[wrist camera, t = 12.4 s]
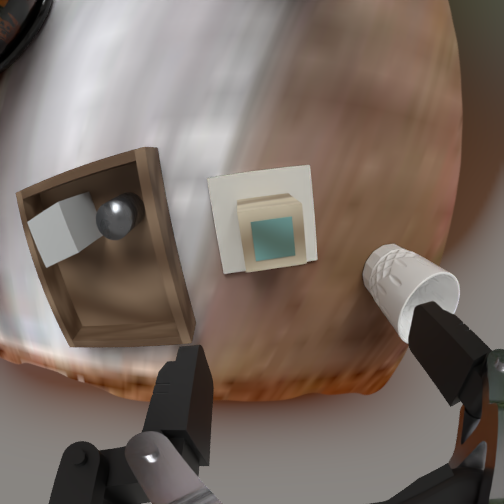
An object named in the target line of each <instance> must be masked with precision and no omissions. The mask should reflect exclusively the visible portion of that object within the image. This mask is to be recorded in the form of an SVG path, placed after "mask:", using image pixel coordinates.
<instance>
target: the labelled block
mask: <svg viewBox="0 0 504 504" xmlns="http://www.w3.org/2000/svg"><path fill="white" fill-rule="evenodd" d="M237 215H238V222H239V228H240V235H241V241H242V248H243V254H244V261H245V267H246V273H247V272H254V271H261V270H268V269H274V268H281V267H288V266H294V265H301V264H307V259H306V245H305V232H304V220H303V209H302V203H301V202H299V201H298V200H297V199H295V198H294V197H293V196H291V195H290V194H289V193H285V194H277V195H269V196H262V197H254V198H247V199H240V200H237Z"/></svg>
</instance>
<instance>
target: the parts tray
mask: <svg viewBox="0 0 504 504" xmlns="http://www.w3.org/2000/svg"><path fill="white" fill-rule="evenodd" d="M86 192H89V193H90V196H91V198H92V201H93V204H94V206H95V209H96V212H97V211H98V209H99V207H100V206H101V205H103V204H104V203H106V202H108V201H110V200H112V199H113V198H115V197H117V196H119V195H121V194H123V193H126V192H130V193H134V194H136V195H137V196H139V197H140V198H141V200H142V201H143V204H144V207H145V214H144V218H143V220H142V221H141V222H140V223H139V224H138V225H137V226H136V227H135V228H133V229H132V230H131V231H130V232H129V233H128V234H127V235H126V236H125V237H123V238H122V239H120V240H110V239H107V238H106V237H104V236H101V237H100V238H98V239H97V240H96V241H94V242H93V243H91V244H90V245H88V246H87V247H86V248H84V249H83V250H81V251H80V252H79V253H77V254H74V255H72V256H70V257H68V258H66V259H64V260H62V261H60V262H57V263H55V264H53V265H51V266H49V267H47V268H46V266H45V264H44V262H43V260H42V258H41V255H40V253H39V251H38V248H37V246H36V244H35V241H34V239H33V236H32V234H31V231H30V228H29V226H28V223H27V222H28V221H30V220H31V219H32V218H34V217H35V216H37V215H38V214H40V213H41V212H43V211H44V210H46V209H48V208H49V207H51V206H52V205H54V204H55V203H57V202H59V201H62V200H65V199H68V198H71V197H74V196H77V195H80V194H83V193H86ZM16 197H17V202H18V207H19V212H20V216H21V220H22V224H23V228H24V232H25V236H26V239H27V243H28V246H29V250H30V253H31V256H32V259H33V262H34V265H35V268H36V271H37V274H38V277H39V279H40V282H41V285H42V287H43V290H44V292H45V295H46V297H47V300H48V302H49V304H50V307H51V309H52V311H53V314H54V316H55V318H56V320H57V322H58V324H59V327H60V329H61V331H62V333H63V335H64V337H65V339H66V341H67V343H68V344H69V346H70V347H140V346H160V345H175V344H188V343H192V339H193V334H194V330H195V325H196V321H195V317H194V314H193V310H192V306H191V303H190V299H189V295H188V292H187V288H186V284H185V280H184V276H183V272H182V268H181V264H180V260H179V255H178V251H177V247H176V242H175V238H174V233H173V229H172V224H171V219H170V215H169V210H168V205H167V199H166V194H165V189H164V183H163V178H162V172H161V166H160V160H159V154H158V148H154V147H142V148H138V149H135V150H131V151H128V152H124V153H121V154H117V155H114V156H111V157H107V158H104V159H101V160H98V161H95V162H92V163H89V164H86V165H83V166H80V167H77V168H75V169H72V170H69V171H66V172H64V173H61V174H59V175H56V176H54V177H51V178H49V179H46V180H44V181H41V182H39V183H37V184H34V185H32V186H30V187H28V188H25V189H23V190H21V191H19V192H17V193H16Z"/></svg>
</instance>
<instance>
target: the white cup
mask: <svg viewBox="0 0 504 504" xmlns="http://www.w3.org/2000/svg"><path fill="white" fill-rule="evenodd" d="M363 280H364V285H365V287H366V288H367V289H368V291H369V292H370V293H371V295H372V296H373V298H374V301H375V302H376V303H377V305H378V306H379V308H380V309H381V311H382V312H383V314H384V315H385V316H386V318H387V319H388V321H389V322H390V323H391V325H392V326H393V328H394V329H395V331H396V332H397V333H398V335H399V336H400V338H401V339H402V340H403V341H404V342H405V343H408V336H409V332H410V327H411V322H412V317H413V312H414V308H415V307H416V306H417V305H420V304H423V303H427V302H430V301H434V302H436V303H437V304H438V305H439V306H440V307H441V308H442V309H443V310H446V311H448V312H450V313H452V314H454V313H455V311H456V308H457V306H458V302H459V297H460V287H459V283H458V280H457V279H456V277H455V276H454V275H453V274H451V273H449V272H447V271H446V270H444V269H442V268H440V267H439V266H437V265H436V264H434V263H432V262H430V261H429V260H427V259H425V258H423V257H422V256H420V255H418V254H415V253H414V252H412V251H408V250H406V249H404V248H402V247H400V246H398V245H396V244H388V245H383V246H381V247H380V248H378V249H377V250H375V251H373V253H372V254H371V255H370V257H369V258H368V260H367V261H366V263H365V267H364V270H363Z"/></svg>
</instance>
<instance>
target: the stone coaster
mask: <svg viewBox="0 0 504 504" xmlns="http://www.w3.org/2000/svg"><path fill="white" fill-rule="evenodd" d="M207 182H208V188H209V194H210V200H211V206H212V212H213V217H214V223H215V229H216V234H217V240H218V245H219V251H220V256H221V261H222V267H223V272H224V274H227V273H234V272H241V271H246V267H245V261H244V254H243V248H242V241H241V235H240V228H239V222H238V215H237V200H240V199H247V198H254V197H262V196H269V195H277V194H285V193H289V194H290V195H291V196H293V197H294V198H295V199H297V200H298V201H299V202H301V203H302V209H303V220H304V232H305V245H306V259H307V262H308V261H314V260H317V244H316V229H315V215H314V203H313V192H312V182H311V172H310V165H300V166H290V167H281V168H273V169H265V170H257V171H249V172H242V173H236V174H229V175H223V176H216V177H210V178H207Z"/></svg>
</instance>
